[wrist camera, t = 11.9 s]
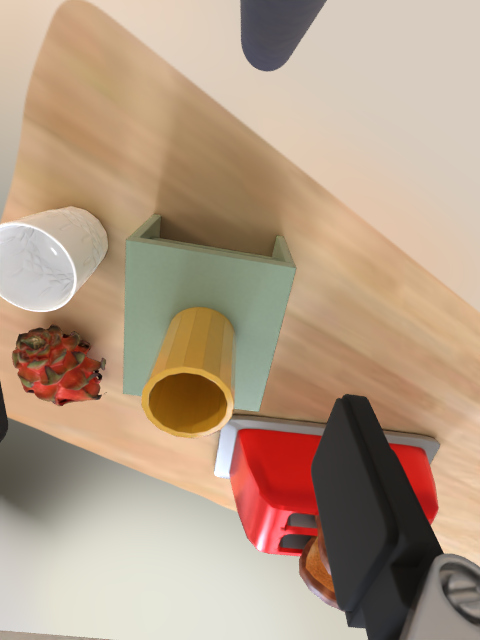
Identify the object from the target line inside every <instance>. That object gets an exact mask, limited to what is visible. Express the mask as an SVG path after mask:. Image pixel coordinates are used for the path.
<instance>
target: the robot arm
mask: <svg viewBox="0 0 480 640" xmlns="http://www.w3.org/2000/svg"><path fill="white" fill-rule="evenodd" d="M7 430H8V420H7V414H6V409H5V404H4V399H3V393H2V388H1V383H0V442H1V440H3V438H4V437H5V435H6V432H7ZM311 477H312V482H313V487H314V492H315V497H316V502H317V507H318V512H319V517H320V522H321V527H322V532H323V537H324V542H325V546H326V551H327V556H328V561H329V566H330V571H331V576H332V581H333V586H334V591H335V596H336V601H337V605H338V607H339V609H340V610H342V611H345V614H346V619H347V624H348V627H355V628H366V632H367V636H368V640H480V567H479V566H477V565H476V564H475V563H473V562H471V561H469V560H468V559H466V558H464V557H461V556H458V555H455V554H444V553H443V551H442V549H441V547H440V544H439V542H438V540H437V538H436V536H435V534H434V532H433V530H432V528H431V526H430V523H429V521H428V519H427V517H426V515H425V513H424V511H423V509H422V507H421V505H420V503H419V500H418V498H417V496H416V494H415V492H414V490H413V488H412V486H411V484H410V482H409V479H408V477H407V475H406V473H405V471H404V469H403V467H402V465H401V463H400V461H399V458H398V456H397V455H396V453H395V452H394V450H392V449H391V447H390V445H389V443H388V441H387V439H386V437H385V435H384V432H383V430H382V428H381V426H380V424H379V422H378V420H377V418H376V415H375V413H374V411H373V409H372V407H371V405H370V403H369V400H368V399H367V398H366V397H364V396H356V395H349V394H345V395H344V396H343V397H342V399H341V398H338V399H337V400H336V402H335V404H334V407H333V409H332V412H331V414H330V417H329V419H328V422H327V425H326V427H325V430H324V432H323V435H322V437H321V440H320V443H319V445H318V448H317V450H316V453H315V455H314V458H313V461H312V464H311ZM0 640H109V639H97V638H85V637H72V636H59V635H47V634H36V633H24V632H12V631H0Z"/></svg>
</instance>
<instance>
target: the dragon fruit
mask: <svg viewBox="0 0 480 640" xmlns="http://www.w3.org/2000/svg"><path fill="white" fill-rule="evenodd" d="M70 335H74V336H68V335H65V334H64V335H63V333H62V331H61V329H60V328H59V327H58V326H56V325H51V326H50V328H49V329H47V330H45V329H43V328H37V329H32V330H30V331H29V332H28V333H23V334H19V336H18V339H17V342H16V348H15V349H16V350H14V351H13V353H12V360H13V365H14V366H15V368H17V369H19V372H18V376H19V378H20V380H21V383H22V385H23V388H24V390H25V392H27V393H28V392H29V393H35V395H36V396H37V397H38V398H39V399H42V400H45V401H51V402H53V403H54V404H56V405H58V406H63V405H64V404H67V403H71V402H78V401H85V400H98V399H100V398H101V396H102V395H98V393H99V391H100V385H99V383H100V382H101V379H102V375H101V374H99V373H98V372H99V370H98V369H99V368H102V370H105V364H106V360H105V359H104V358H102V361H101V362H98V361H96V360H92V359H89V358H88V357H86V354H87V352H88V351H89V350H90V347H91V346H90V344H89V343H86V342H85V341H83V340H80V336H79V334H78V333H76V332H75V331H74V332H72V333H71V334H70ZM78 344H84V346H77V345H78ZM93 371H95V373H93ZM96 376H98V378H99V379H97V377H96ZM106 393H107V392H106Z"/></svg>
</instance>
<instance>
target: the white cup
mask: <svg viewBox="0 0 480 640" xmlns="http://www.w3.org/2000/svg"><path fill="white" fill-rule="evenodd" d="M107 249H108V239H107V233H106V231H105V229H104V228H103V226H102V224H101V223H100V221H99V220H98V219H97V218H96V217H94V216H93V215H92V214H91V213H89V212H88V211H87V210H84V209H80V208H76V207H73V206H69V207H64V208H59V209H55V210H48V211H44V212H40V213H37V214H32V215H29V216H26V217H22V218H19V219H16V220H13V221H10V222H6V223H3V224H0V296H1V297H2V298H4V299H5V300H7V301H8V302H10V303H11V304H13V305H15V306H17V307H20V308H22V309H26V310H29V311H35V312H47V311H52V310H56V309H58V308H60V307H62V306H64V305H65V304H66V303H67V302H68V301H69V300H70V299H71V298H72V297H73V296H74V294H75V293H76V292H77V291H78V290H79V289H80V288H81V286H82V285H83V284H84V283H85V282H86V281H87V280H88V278H89V277H90V276H91V274H92V273H93V272H94V271H95V270H96V268H97V267H98V265H99V264H100V263H101V261H102V260H103V259H104V257H105V255H106V252H107Z"/></svg>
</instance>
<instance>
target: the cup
mask: <svg viewBox="0 0 480 640" xmlns="http://www.w3.org/2000/svg"><path fill="white" fill-rule="evenodd" d="M235 369H236V335H235V330H234V328H233V326H232V324H231V323H230V321H229V320H228V319H227V318H226V317H225V316H224V315H223V314H221V313H220V312H218V311H216V310H213V309H210V308H206V307H193V308H188V309H185V310H183V311H181V312H179V313H178V314H176V315H175V316H174V317H173V318H172V320H171V321H170V323H169V325H168V327H167V329H166V330H165V333H164V336H163V338H162V341H161V343H160V346H159V349H158V351H157V354H156V356H155V359H154V362H153V364H152V367H151V369H150V372H149V375H148V377H147V380H146V382H145V385H144V388H143V390H142V403H141V405H142V408H143V410H144V412H145V414H146V416H147V418H148V419H149V420H150V421H151V422H152V423H153V424H154V425H155V426H156V427H157V428H158V429H160V430H162V431H164V432H167V433H169V434H171V435H173V436H178V437H185V438H197V437H203V436H208V435H211V434H213V433H215V432H217V431H218V430H220V429H222V428H223V427H224V426H225V425H226V423H227V422H228V421H229V420H230V419H231V417H232V414H233V409H234V404H235Z"/></svg>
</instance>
